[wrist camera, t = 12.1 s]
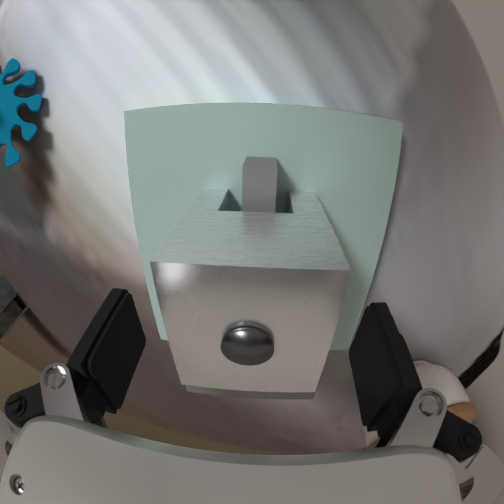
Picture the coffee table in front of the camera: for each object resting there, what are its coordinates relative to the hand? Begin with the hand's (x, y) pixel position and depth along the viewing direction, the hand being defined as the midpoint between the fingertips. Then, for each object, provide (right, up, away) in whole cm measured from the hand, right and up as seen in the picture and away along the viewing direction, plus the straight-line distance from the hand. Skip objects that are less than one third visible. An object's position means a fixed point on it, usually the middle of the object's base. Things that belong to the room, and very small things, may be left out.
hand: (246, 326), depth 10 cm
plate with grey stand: (+1, +4, +8) cm, 9 cm away
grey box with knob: (+1, +3, +7) cm, 7 cm away
